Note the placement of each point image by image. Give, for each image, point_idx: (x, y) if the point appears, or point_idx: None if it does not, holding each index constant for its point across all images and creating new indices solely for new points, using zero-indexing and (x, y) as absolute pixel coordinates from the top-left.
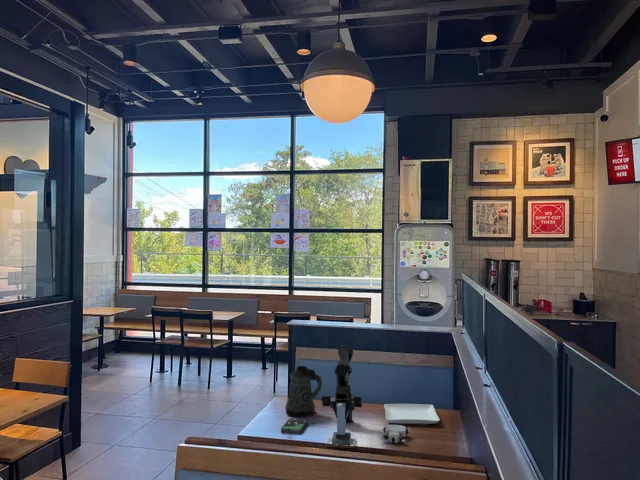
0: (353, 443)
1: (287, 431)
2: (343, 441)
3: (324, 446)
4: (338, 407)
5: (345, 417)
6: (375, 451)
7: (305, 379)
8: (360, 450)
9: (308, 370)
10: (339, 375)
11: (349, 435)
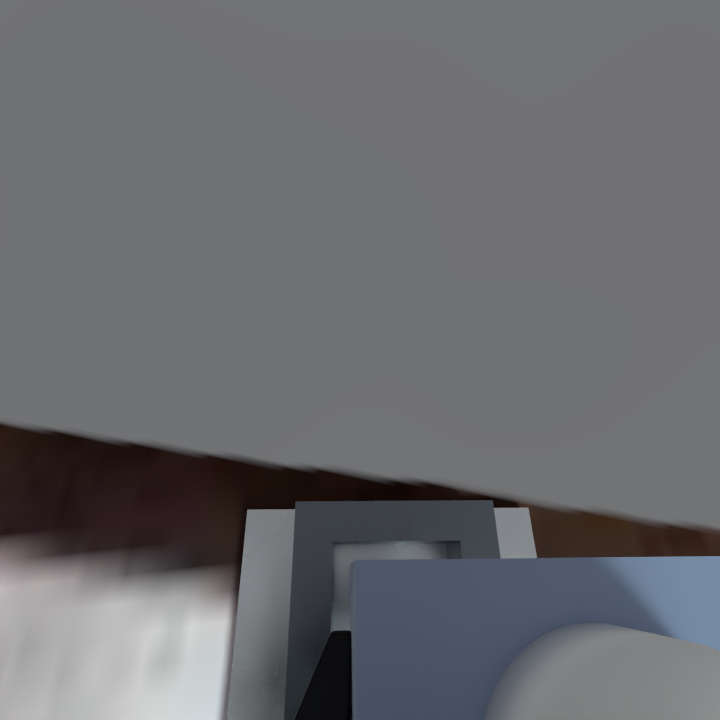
0: (262, 609)
1: None
2: (364, 503)
3: (548, 541)
4: (664, 557)
5: (340, 637)
6: (73, 469)
7: None
8: (206, 478)
9: None
10: None
11: (297, 689)
